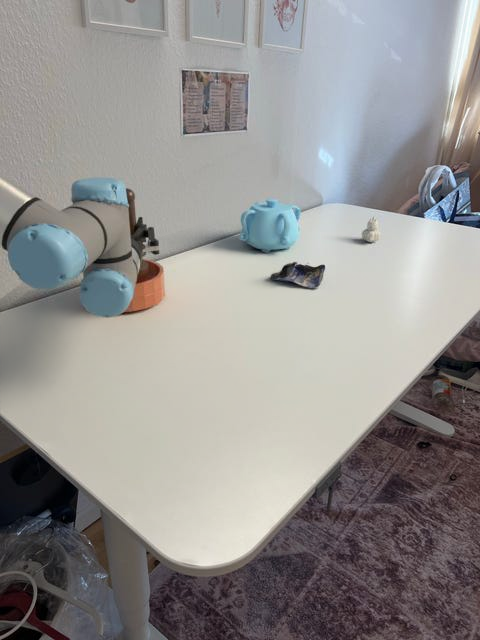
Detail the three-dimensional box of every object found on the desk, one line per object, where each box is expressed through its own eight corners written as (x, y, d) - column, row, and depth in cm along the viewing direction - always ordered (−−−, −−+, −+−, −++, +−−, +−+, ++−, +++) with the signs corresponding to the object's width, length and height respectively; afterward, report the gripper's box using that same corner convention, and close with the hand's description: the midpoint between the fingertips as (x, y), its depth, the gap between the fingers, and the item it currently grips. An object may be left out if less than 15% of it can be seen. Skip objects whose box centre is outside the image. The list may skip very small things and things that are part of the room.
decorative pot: (286, 259, 131) (289, 209, 124) (232, 249, 136) (233, 201, 130) (304, 242, 144) (308, 197, 138) (255, 234, 150) (257, 190, 143)
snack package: (285, 295, 110) (330, 287, 113) (284, 267, 108) (330, 261, 111) (265, 283, 120) (307, 277, 124) (264, 258, 118) (306, 252, 122)
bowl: (75, 312, 99) (70, 283, 96) (104, 281, 114) (101, 255, 111) (153, 318, 98) (151, 289, 95) (172, 286, 112) (171, 260, 109)
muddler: (114, 276, 100) (104, 191, 92) (124, 265, 106) (116, 184, 98) (143, 278, 99) (137, 192, 91) (152, 267, 105) (146, 185, 97)
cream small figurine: (379, 240, 147) (383, 214, 144) (378, 246, 142) (382, 219, 138) (361, 238, 149) (365, 212, 145) (359, 244, 143) (363, 218, 140)
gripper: (74, 282, 84) (97, 240, 104) (166, 280, 85) (170, 239, 106) (68, 241, 80) (93, 206, 101) (163, 239, 82) (169, 205, 102)
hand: (132, 223), depth 103 cm, fingers closed on muddler, 3 cm apart
